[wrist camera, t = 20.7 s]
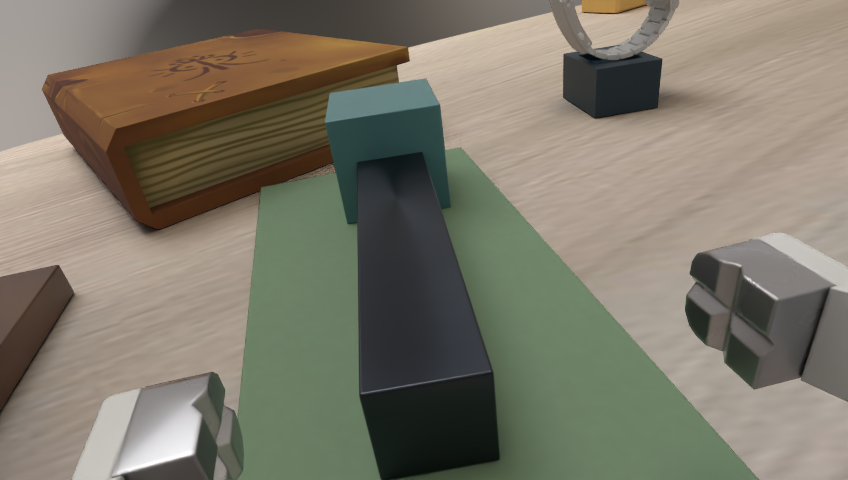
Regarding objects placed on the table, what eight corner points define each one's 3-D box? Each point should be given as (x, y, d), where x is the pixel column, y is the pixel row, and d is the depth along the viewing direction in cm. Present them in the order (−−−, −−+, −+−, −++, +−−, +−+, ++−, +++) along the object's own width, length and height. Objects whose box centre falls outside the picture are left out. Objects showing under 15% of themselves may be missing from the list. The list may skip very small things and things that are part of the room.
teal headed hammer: (340, 490, 13) (289, 332, 10) (348, 182, 29) (329, 92, 27) (540, 454, 13) (537, 290, 11) (437, 168, 30) (426, 78, 27)
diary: (70, 148, 44) (36, 77, 41) (274, 89, 53) (258, 28, 50) (143, 235, 28) (95, 129, 25) (418, 129, 37) (407, 43, 34)
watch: (685, 102, 35) (710, -92, 30) (568, 122, 35) (572, -72, 29) (642, 83, 40) (657, -87, 34) (539, 100, 39) (538, -70, 34)
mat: (772, 508, 12) (776, 497, 11) (216, 689, 10) (210, 680, 10) (461, 153, 32) (460, 147, 32) (262, 193, 31) (260, 187, 30)
